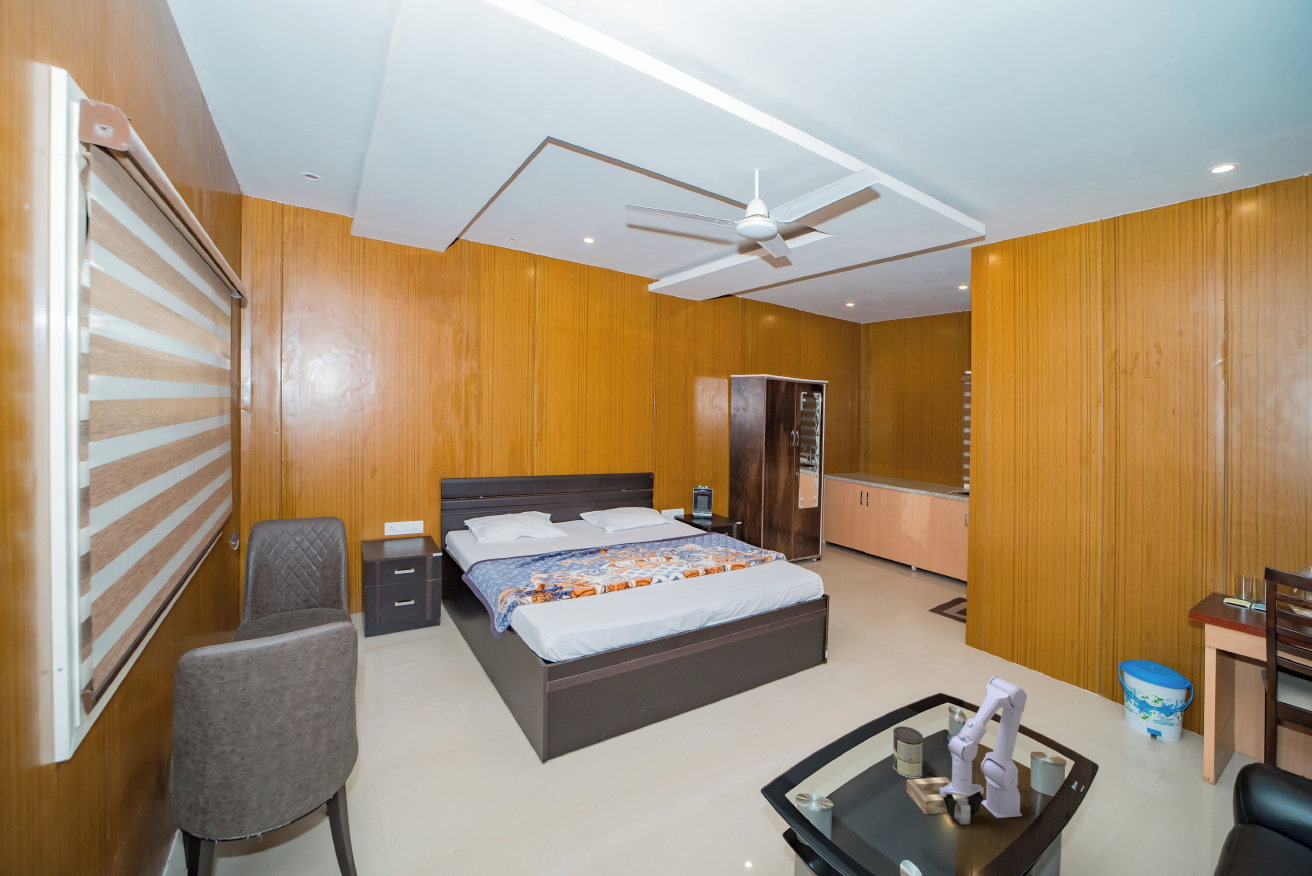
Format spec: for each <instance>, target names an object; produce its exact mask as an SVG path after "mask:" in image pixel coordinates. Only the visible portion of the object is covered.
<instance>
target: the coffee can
mask: <svg viewBox="0 0 1312 876" xmlns="http://www.w3.org/2000/svg"><path fill="white" fill-rule="evenodd" d="M892 731H893V759H892V760H893V763H892V764H893V765H892V768H893V770H894V769H895V770H896V771H897V772H898V773H899V774H898V773H897V772H896V771H895V770H894V771H895V772H896V773H897V774H898V775H900V774H901V775H900V776H902V775H903V776H902V777H904V776H905V778H907V777H908V778H907V779H912V778H913V779H914V778H915V779H920V778H921V777H922V776H923V741H924V737H923V734H922V733H921V732H920V731H918V730H917V729H915V728H912V727H909V726H896V727H894V729H893V730H892Z"/></svg>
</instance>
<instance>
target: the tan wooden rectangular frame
mask: <svg viewBox="0 0 1312 876" xmlns="http://www.w3.org/2000/svg"><path fill="white" fill-rule="evenodd" d="M951 783H952V781H951V780H949V778H947V777H946V776H940V777H937V776H936V777H927V778H924V777H923V778H915V779H912V778H909V779H906V793H907V794H908V796H909V797H910V798H911V799H912V800H913V802H914V803H915V804H916V805H917V806H918V807H919V809H920V810H921V811H922V812H923V813H924V814H925V815H934V814H944V813H945V814H946V813H947V814H948V812H947V807H946V804H945V801H944V799H943V797H942V795H941V794H940V787H944V786H946V785H949V784H951ZM953 798H965V799H966V800H967V801H968V797H967V796H961V795H953Z"/></svg>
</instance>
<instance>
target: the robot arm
mask: <svg viewBox="0 0 1312 876" xmlns="http://www.w3.org/2000/svg"><path fill="white" fill-rule="evenodd" d="M985 691H986V695H985V697H984V699H983V701H982V703H981V705H980V707H979V708H978V710H977V712H976V714H975V716H974V717H970V718H968V719H967V721H966V722H965V724H964V726H962V728H961V730H959V732H958V734H957V735H954V736H952V737H951V738H950V739H949V742H948V744H947V746H948V747H947V748H948V750H949V751H950V756H951V758H952V759H951V761H952V762H951V763H952V765H951V766H952V768H951V784H949V785H946V786H944V787H940V794H941V795H942V797H943V799H944V801H945V804H946V807H947V812H948V813H947V815H948V816H949V817H950V818H951V819H952V818H953V819H955V818H954V809H955V805H956V803H957V802H956V801H955V800H954V798H953V795H961V796H965V797H967V803H968V804H969V805H970V815H972V816H973V817H976V813H977V811H978V809H979V806H980V804H981V805H983V807H984V808H985V809H987V810H988V812H990V813H991V814H992V815H993V817H995V819H1003V818H1004V819H1005V818H1012V817H1013V818H1014V817H1016V818H1017V817H1022V816H1023V814H1022V813H1021V794H1020V791H1019V788H1018V783H1019V776H1018V774H1019V769H1018V767H1017V766H1016V764H1015V762H1014V761H1013V756H1014V755H1013V754H1014V752H1015V745H1016V741H1017V737H1018V732H1019V728H1020V723H1021V720H1022V714H1023V713H1024V711H1025V707H1026V703H1027V697H1028V695H1027V693H1026V691H1025V690H1024V689H1023V688H1022V687H1020V686H1017V685H1015V684H1013V683H1011V682H1009V681H1007V680H1005V679H1004V678H1002V677H999V676H998V675H994V676H992V677H991V678H990V679H989V680H988V682H987V685H986V686H985ZM1001 708H1002V712H1001V716H1000V721H999V726H998V729H997V735H996V738H995V743H994V747H993V751H989V752H986V753H985V756H984V758H983V760H982V761H981V764H980V771H981V773H982V775H984V778H985V779H984V780H986V792H985V791H984V789H985V788H984V787H983V786H982V785H981V784H975V783H973V782H972V781H973V760H975V758H976V757H977V754H978V749H979V746H978V745H979V744H980V742H981V740H982V739H983V737H984V736H985V734H986V733H987V728H986V725H987V724H988V723H989V722H990V720H991V719H992V718H993V717H994V715H995V714H996V713H997V712H998V710H999V709H1001ZM984 793H986V796H985V797H986V799H984V797H983V794H984Z"/></svg>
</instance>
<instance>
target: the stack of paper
mask: <svg viewBox="0 0 1312 876" xmlns="http://www.w3.org/2000/svg"><path fill="white" fill-rule="evenodd" d="M954 800H955V801H956V802H957V803H956V805H955V809H954V818H953V819H955V820H956V821H957V822H958V824H960V825H970V824H971V813H970V805H969V804H968V799H967V800H966V799H965V798H954Z"/></svg>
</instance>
